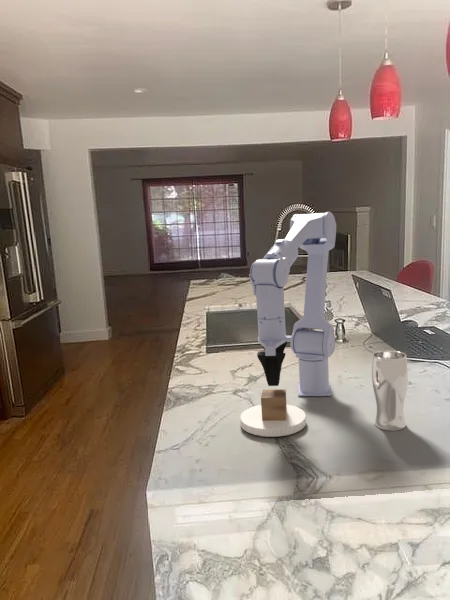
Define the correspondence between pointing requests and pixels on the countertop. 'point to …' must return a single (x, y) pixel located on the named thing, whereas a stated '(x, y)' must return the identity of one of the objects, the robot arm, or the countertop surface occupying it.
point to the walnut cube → (274, 405)
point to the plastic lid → (272, 422)
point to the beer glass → (389, 388)
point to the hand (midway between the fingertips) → (274, 379)
